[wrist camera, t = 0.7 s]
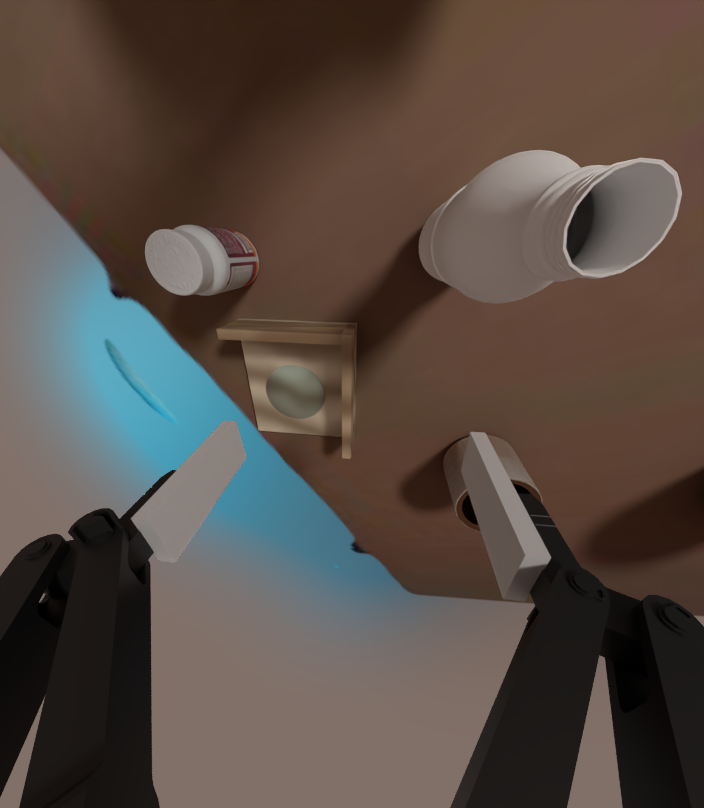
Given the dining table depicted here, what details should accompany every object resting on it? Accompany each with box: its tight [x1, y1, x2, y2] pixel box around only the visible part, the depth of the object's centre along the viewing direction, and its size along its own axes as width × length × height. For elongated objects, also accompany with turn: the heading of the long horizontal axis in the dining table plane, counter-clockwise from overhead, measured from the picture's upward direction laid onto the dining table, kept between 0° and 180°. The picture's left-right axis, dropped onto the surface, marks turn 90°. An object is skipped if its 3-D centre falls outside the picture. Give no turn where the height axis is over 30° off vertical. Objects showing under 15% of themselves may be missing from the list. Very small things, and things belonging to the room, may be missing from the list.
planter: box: [443, 435, 542, 532], centre depth 39 cm, size 11×11×10 cm
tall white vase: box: [419, 150, 682, 303], centre depth 19 cm, size 7×7×25 cm
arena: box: [216, 318, 357, 459], centre depth 38 cm, size 18×16×6 cm
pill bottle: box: [145, 225, 259, 296], centre depth 28 cm, size 6×6×11 cm
